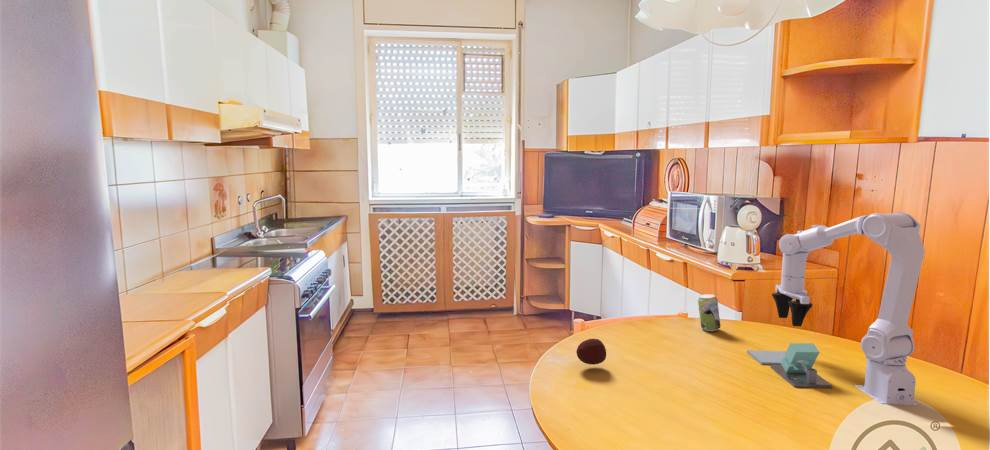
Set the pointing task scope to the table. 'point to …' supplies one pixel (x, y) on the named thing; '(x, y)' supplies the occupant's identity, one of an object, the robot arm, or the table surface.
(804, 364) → the stand
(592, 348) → the dark brown ball
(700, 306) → the beverage can
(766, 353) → the mat
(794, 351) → the c link
